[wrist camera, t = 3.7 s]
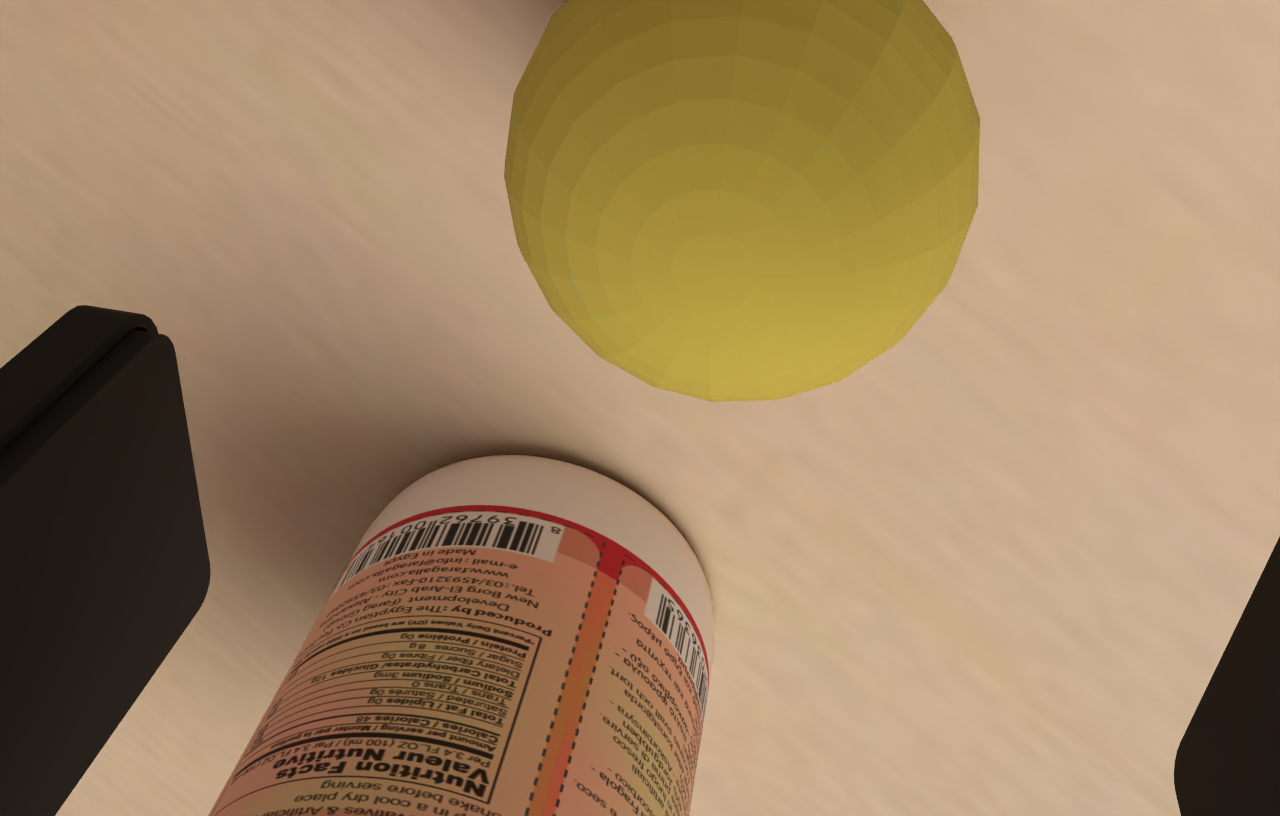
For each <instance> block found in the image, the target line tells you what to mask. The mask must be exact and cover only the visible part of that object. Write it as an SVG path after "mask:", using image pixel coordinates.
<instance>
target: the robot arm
mask: <svg viewBox="0 0 1280 816" xmlns="http://www.w3.org/2000/svg"><path fill="white" fill-rule="evenodd" d="M209 582H210V562H209V556H208V550H207V544H206V537H205V531H204V525H203V519H202V513H201V507H200V501H199V495H198V488H197V482H196V476H195V470H194V464H193V458H192V452H191V446H190V439H189V433H188V427H187V421H186V415H185V409H184V403H183V397H182V390H181V384H180V378H179V372H178V366H177V360H176V354H175V350H174V346H173V343H172V342H171V340H170V339H169V337H167V336H165V335H163V334H158V331H157V327H156V326H155V324H154V323H153V321H152V320H151V319H150V318H149V317H147V316H145V315H143V314H137V313H131V312H124V311H118V310H112V309H106V308H100V307H93V306H87V305H84V306H77V307H75V308H73V309H71V310H70V311H68V312H67V313H66V314H65V315H63V316H62V317H61V318H60V319H59V320H57V321H56V322H55V323H54V324H53V325H52V326H50V327H49V328H48V329H47V330H46V331H44V332H43V333H42V334H41V335H40V336H38V337H37V338H36V339H35V340H34V341H33V342H31V343H30V344H29V345H28V346H27V347H25V348H24V349H23V350H22V351H21V352H20V353H18V354H17V355H16V356H15V357H14V358H12V359H11V360H10V361H9V362H8V363H6V364H5V365H4V366H3V367H2V368H1V369H0V816H55V815H56V813H57V812H58V810H59V809H60V808H61V806H62V805H63V803H64V802H65V800H66V799H67V798H68V796H69V795H70V793H71V792H72V790H73V789H74V788H75V786H76V785H77V783H78V782H79V780H80V779H81V778H82V776H83V775H84V773H85V772H86V770H87V769H88V768H89V766H90V765H91V763H92V762H93V760H94V759H95V758H96V756H97V755H98V753H99V752H100V750H101V749H102V748H103V746H104V745H105V743H106V742H107V740H108V739H109V738H110V736H111V735H112V733H113V732H114V730H115V729H116V728H117V726H118V725H119V723H120V722H121V720H122V719H123V718H124V716H125V715H126V713H127V712H128V710H129V709H130V708H131V706H132V705H133V703H134V702H135V700H136V699H137V697H138V696H139V695H140V693H141V692H142V690H143V689H144V687H145V686H146V685H147V683H148V682H149V680H150V679H151V677H152V676H153V675H154V673H155V672H156V670H157V669H158V667H159V666H160V665H161V663H162V662H163V660H164V659H165V657H166V656H167V655H168V653H169V652H170V650H171V649H172V647H173V646H174V645H175V643H176V642H177V640H178V639H179V637H180V636H181V635H182V633H183V632H184V630H185V629H186V627H187V626H188V625H189V623H190V622H191V620H192V619H193V617H194V616H195V615H196V613H197V612H198V610H199V609H200V607H201V605H202V603H203V602H204V599H205V597H206V594H207V591H208V587H209ZM1174 784H1175V791H1176V796H1177V800H1178V804H1179V808H1180V813H1181V816H1280V537H1279V539H1278V541H1277V543H1276V545H1275V548H1274V550H1273V552H1272V554H1271V556H1270V558H1269V560H1268V562H1267V564H1266V566H1265V568H1264V570H1263V572H1262V574H1261V577H1260V579H1259V581H1258V583H1257V585H1256V587H1255V589H1254V591H1253V593H1252V595H1251V597H1250V599H1249V601H1248V603H1247V606H1246V608H1245V610H1244V612H1243V614H1242V616H1241V618H1240V620H1239V622H1238V624H1237V626H1236V628H1235V630H1234V632H1233V635H1232V637H1231V639H1230V641H1229V643H1228V645H1227V647H1226V649H1225V651H1224V653H1223V655H1222V657H1221V659H1220V661H1219V664H1218V666H1217V668H1216V670H1215V672H1214V674H1213V676H1212V678H1211V680H1210V682H1209V684H1208V686H1207V688H1206V690H1205V693H1204V695H1203V697H1202V699H1201V701H1200V703H1199V705H1198V707H1197V709H1196V711H1195V713H1194V715H1193V717H1192V719H1191V722H1190V724H1189V726H1188V728H1187V730H1186V732H1185V734H1184V736H1183V738H1182V740H1181V742H1180V745H1179V748H1178V750H1177V755H1176V759H1175V768H1174Z"/></svg>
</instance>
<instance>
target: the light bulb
mask: <svg viewBox="0 0 1280 816" xmlns="http://www.w3.org/2000/svg"><path fill="white" fill-rule="evenodd" d="M979 129H980V118H979V115H978V112H977V109H976V106H975V103H974V100H973V97H972V94H971V91H970V87H969V84H968V81H967V78H966V75H965V72H964V69H963V66H962V63H961V60H960V57H959V54H958V51H957V48H956V46H955V44H954V42H953V40H952V38H951V36H950V35H949V34H948V32H947V31H946V30H945V29H944V27H943V26H942V25H941V23H940V22H939V21H938V20H937V18H936V17H935V16H934V14H933V13H932V12H931V11H930V9H929V8H928V7H927V6H926V4H925V3H924V2H923V0H568V1H567V2H566V3H565V4H564V5H563V6H562V7H561V8H560V9H559V10H558V11H557V12H556V13H555V14H554V15H553V16H552V18H551V20H550V22H549V24H548V26H547V28H546V30H545V32H544V34H543V36H542V38H541V40H540V42H539V44H538V46H537V48H536V50H535V52H534V54H533V56H532V58H531V60H530V62H529V64H528V66H527V68H526V70H525V72H524V74H523V76H522V78H521V80H520V82H519V84H518V86H517V88H516V90H515V92H514V98H513V105H512V113H511V120H510V128H509V136H508V143H507V151H506V159H505V173H504V178H505V183H506V188H507V193H508V198H509V203H510V208H511V214H512V219H513V224H514V229H515V234H516V239H517V243H518V246H519V248H520V251H521V254H522V256H523V257H524V259H525V261H526V263H527V265H528V267H529V268H530V270H531V272H532V274H533V276H534V278H535V279H536V281H537V283H538V285H539V287H540V289H541V290H542V292H543V294H544V296H545V298H546V299H547V301H548V303H549V305H550V307H551V309H552V310H553V311H554V312H555V313H556V314H557V315H558V316H559V317H560V318H561V319H562V320H563V321H564V322H565V323H566V324H567V325H568V326H569V327H570V328H571V329H572V330H573V331H574V332H575V333H576V334H577V335H578V336H579V337H580V338H581V339H582V340H583V341H584V342H585V343H586V344H587V345H588V346H589V347H590V348H591V349H592V350H593V351H594V352H595V353H596V354H597V355H599V356H600V357H601V358H603V359H605V360H607V361H608V362H610V363H612V364H614V365H616V366H617V367H619V368H621V369H623V370H625V371H626V372H628V373H630V374H632V375H633V376H635V377H637V378H639V379H641V380H642V381H644V382H646V383H648V384H650V385H651V386H653V387H656V388H660V389H664V390H668V391H672V392H676V393H680V394H684V395H688V396H692V397H696V398H700V399H704V400H708V401H763V400H778V399H782V398H785V397H788V396H792V395H795V394H798V393H802V392H805V391H808V390H812V389H815V388H818V387H822V386H825V385H828V384H832V383H835V382H838V381H841V380H842V379H844V378H845V377H847V376H848V375H850V374H851V373H853V372H854V371H856V370H857V369H859V368H861V367H862V366H864V365H865V364H867V363H868V362H870V361H871V360H873V359H874V358H876V357H877V356H879V355H880V354H882V353H884V352H885V351H887V350H888V349H890V348H891V347H893V346H894V345H895V344H896V343H898V342H899V341H900V340H901V339H902V338H903V337H904V336H905V335H906V334H907V332H908V331H909V330H910V329H911V328H912V326H913V325H914V324H915V323H916V321H917V320H918V319H919V318H920V317H921V315H922V314H923V313H924V312H925V310H926V309H927V308H928V307H929V306H930V304H931V303H932V302H933V301H934V300H935V298H936V297H937V296H938V295H939V293H940V292H941V291H942V290H943V289H944V287H945V286H946V285H947V283H948V281H949V278H950V276H951V274H952V272H953V269H954V267H955V264H956V261H957V259H958V256H959V254H960V251H961V248H962V246H963V243H964V240H965V238H966V235H967V232H968V230H969V227H970V224H971V222H972V219H973V217H974V214H975V211H976V209H977V206H978V172H979Z"/></svg>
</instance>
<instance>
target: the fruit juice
mask: <svg viewBox="0 0 1280 816" xmlns="http://www.w3.org/2000/svg"><path fill="white" fill-rule="evenodd" d="M714 646H715V635H714V610H713V603H712V599H711V595H710V591H709V587H708V584H707V580H706V577H705V575H704V572H703V570H702V567H701V565H700V563H699V561H698V559H697V557H696V556H695V554H694V552H693V551H692V549H691V547H690V546H689V544H688V543H687V541H686V540H685V538H684V537H683V536H682V535H681V533H680V532H679V531H678V530H677V528H676V527H675V526H674V525H673V524H672V523H671V522H670V521H669V520H668V519H667V518H666V517H665V516H664V515H663V514H662V513H661V512H660V511H659V510H658V509H657V508H655V507H654V506H653V505H652V504H651V503H649V502H648V501H647V500H645V499H644V498H643V497H641V496H640V495H638V494H637V493H635V492H634V491H632V490H631V489H629V488H627V487H626V486H624V485H622V484H620V483H618V482H616V481H615V480H613V479H611V478H608V477H606V476H604V475H602V474H600V473H597V472H595V471H592V470H590V469H587V468H584V467H581V466H578V465H575V464H571V463H568V462H564V461H559V460H555V459H550V458H544V457H536V456H527V455H495V456H485V457H478V458H473V459H468V460H464V461H460V462H457V463H453V464H450V465H448V466H445V467H442V468H440V469H438V470H435V471H433V472H431V473H429V474H427V475H425V476H424V477H422V478H420V479H419V480H417V481H415V482H414V483H413V484H411V485H410V486H409V487H407V488H406V489H405V490H403V491H402V492H401V493H400V494H398V495H397V496H396V497H395V498H394V499H393V500H392V501H391V502H390V503H389V504H388V505H387V506H386V507H385V508H384V510H383V511H382V512H381V513H380V515H379V516H378V517H377V518H376V520H375V521H374V522H373V523H372V525H371V526H370V527H369V528H368V530H367V531H366V533H365V534H364V536H363V538H362V539H361V541H360V543H359V545H358V547H357V548H356V550H355V552H354V554H353V556H352V557H351V559H350V561H349V563H348V565H347V566H346V568H345V570H344V572H343V574H342V575H341V577H340V579H339V581H338V583H337V584H336V586H335V588H334V590H333V592H332V593H331V595H330V597H329V599H328V601H327V602H326V604H325V606H324V608H323V610H322V611H321V613H320V615H319V617H318V619H317V620H316V622H315V624H314V626H313V628H312V629H311V631H310V633H309V635H308V637H307V638H306V640H305V642H304V644H303V646H302V648H301V649H300V651H299V653H298V655H297V657H296V658H295V660H294V662H293V664H292V666H291V667H290V669H289V671H288V673H287V675H286V676H285V678H284V680H283V682H282V684H281V685H280V687H279V689H278V691H277V693H276V694H275V696H274V698H273V700H272V702H271V703H270V705H269V707H268V709H267V711H266V712H265V714H264V716H263V718H262V720H261V721H260V723H259V725H258V727H257V729H256V731H255V732H254V734H253V736H252V738H251V740H250V741H249V743H248V745H247V747H246V749H245V750H244V752H243V754H242V756H241V758H240V759H239V761H238V763H237V765H236V767H235V768H234V770H233V772H232V774H231V776H230V777H229V779H228V781H227V783H226V785H225V787H224V788H223V790H222V792H221V794H220V796H219V797H218V799H217V801H216V803H215V805H214V806H213V808H212V810H211V812H210V814H209V816H689V811H690V804H691V798H692V792H693V785H694V779H695V772H696V766H697V760H698V753H699V747H700V740H701V734H702V728H703V721H704V715H705V708H706V702H707V696H708V689H709V683H710V676H711V670H712V663H713V657H714Z"/></svg>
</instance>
